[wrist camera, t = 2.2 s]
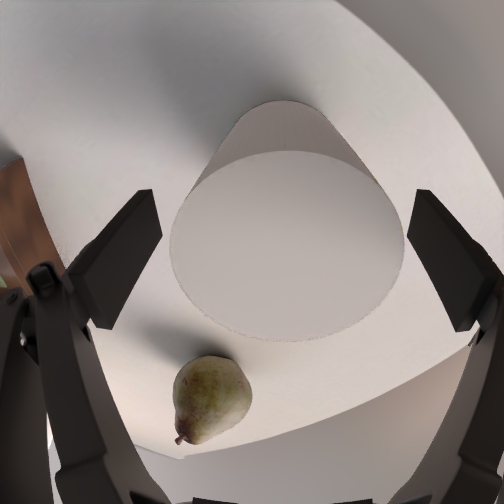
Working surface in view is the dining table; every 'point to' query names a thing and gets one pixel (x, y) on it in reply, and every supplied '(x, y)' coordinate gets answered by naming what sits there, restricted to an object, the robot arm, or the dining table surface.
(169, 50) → the dining table surface
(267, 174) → the white round cylinder
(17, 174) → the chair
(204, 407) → the fruit
